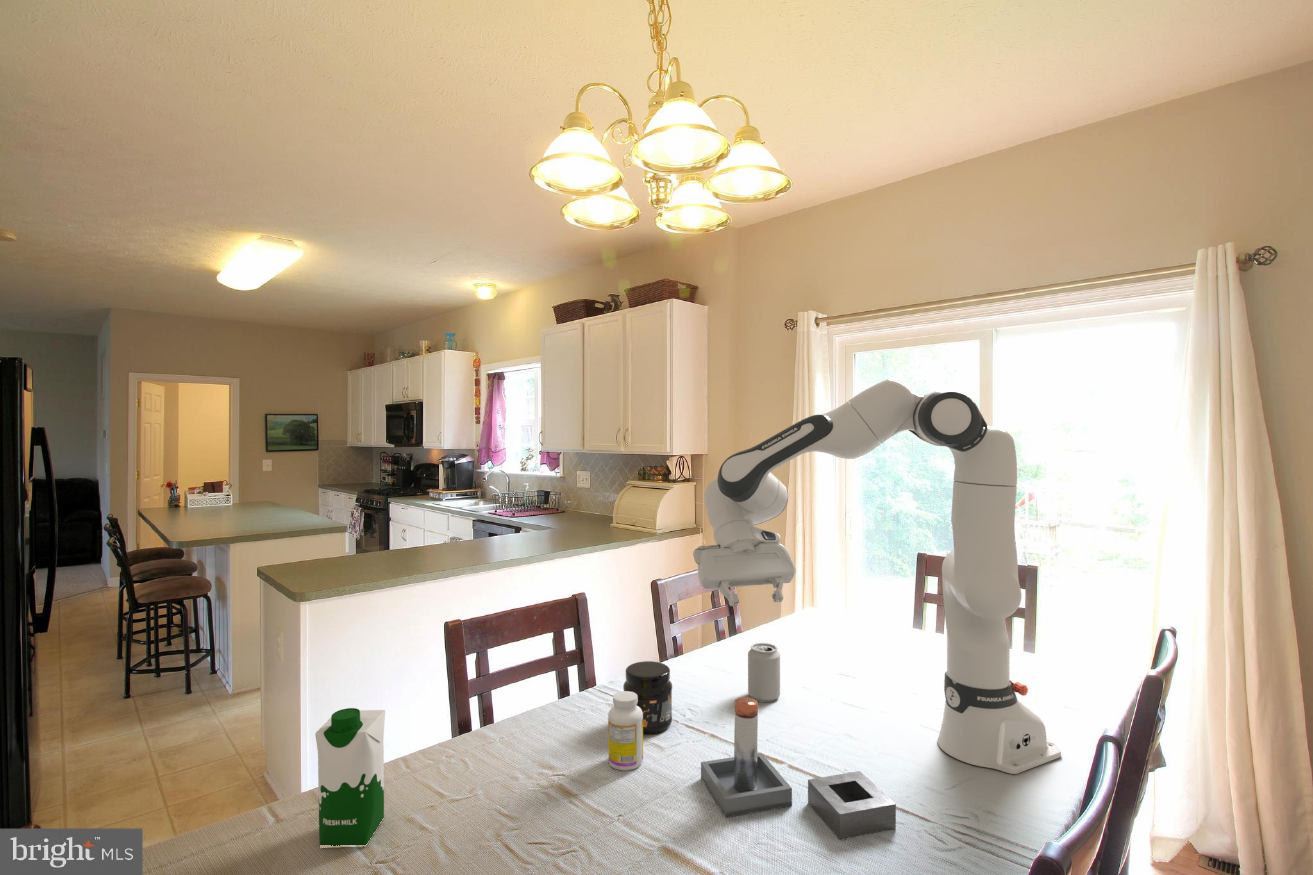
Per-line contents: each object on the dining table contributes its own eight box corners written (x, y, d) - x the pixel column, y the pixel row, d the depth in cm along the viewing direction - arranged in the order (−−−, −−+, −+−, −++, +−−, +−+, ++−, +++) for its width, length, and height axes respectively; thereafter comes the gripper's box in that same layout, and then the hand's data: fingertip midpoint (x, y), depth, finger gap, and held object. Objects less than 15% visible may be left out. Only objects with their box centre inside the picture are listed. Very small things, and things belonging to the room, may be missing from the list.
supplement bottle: (624, 750, 125) (624, 685, 125) (650, 761, 121) (650, 694, 121) (601, 764, 120) (600, 696, 120) (626, 776, 116) (626, 706, 116)
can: (779, 704, 146) (779, 653, 145) (747, 702, 147) (747, 650, 147) (780, 691, 153) (780, 642, 153) (748, 689, 154) (748, 640, 154)
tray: (761, 768, 118) (761, 752, 118) (791, 805, 107) (791, 788, 107) (701, 778, 115) (700, 761, 115) (725, 817, 104) (725, 799, 104)
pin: (751, 779, 113) (752, 696, 113) (760, 791, 110) (761, 705, 109) (730, 782, 112) (731, 698, 112) (739, 794, 108) (740, 708, 108)
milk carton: (310, 853, 95) (308, 721, 95) (338, 816, 104) (337, 695, 104) (369, 851, 95) (368, 720, 95) (392, 815, 104) (391, 694, 104)
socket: (859, 793, 110) (859, 770, 110) (895, 828, 101) (895, 803, 101) (807, 802, 108) (807, 779, 108) (839, 839, 98) (839, 814, 98)
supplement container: (613, 724, 136) (613, 668, 136) (648, 708, 144) (648, 656, 144) (647, 741, 129) (646, 682, 129) (682, 724, 136) (682, 668, 136)
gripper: (694, 537, 129) (711, 598, 120) (786, 533, 134) (808, 590, 125) (687, 555, 133) (703, 614, 124) (776, 550, 139) (797, 606, 129)
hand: (757, 602), depth 125 cm, fingers open, 8 cm apart
